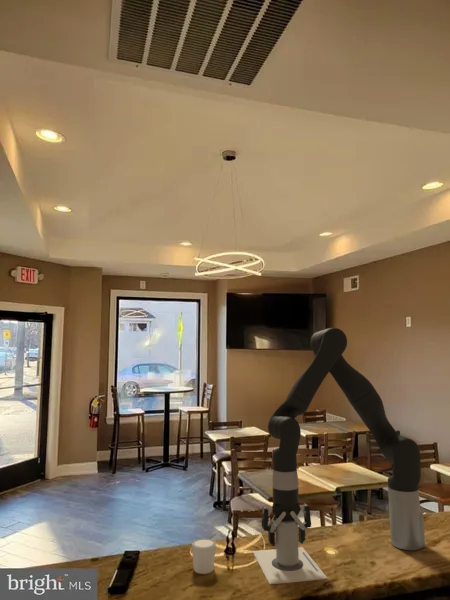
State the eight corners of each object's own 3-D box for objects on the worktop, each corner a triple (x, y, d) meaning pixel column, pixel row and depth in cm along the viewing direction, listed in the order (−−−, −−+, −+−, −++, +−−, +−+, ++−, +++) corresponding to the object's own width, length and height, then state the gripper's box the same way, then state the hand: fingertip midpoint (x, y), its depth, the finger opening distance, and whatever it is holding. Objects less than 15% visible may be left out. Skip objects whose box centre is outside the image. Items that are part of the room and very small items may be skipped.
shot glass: (197, 577, 122) (197, 549, 123) (187, 566, 128) (187, 540, 129) (220, 571, 125) (219, 544, 126) (209, 561, 131) (209, 536, 132)
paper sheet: (302, 547, 140) (302, 546, 140) (327, 578, 120) (327, 577, 120) (252, 552, 137) (252, 550, 137) (269, 584, 118) (269, 582, 118)
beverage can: (298, 558, 132) (296, 515, 133) (299, 568, 125) (298, 523, 127) (276, 557, 132) (275, 515, 134) (276, 567, 126) (275, 523, 127)
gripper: (304, 480, 136) (306, 536, 134) (258, 483, 134) (259, 540, 132) (313, 487, 129) (315, 547, 127) (265, 490, 127) (266, 551, 124)
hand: (286, 543), depth 129 cm, fingers open, 8 cm apart
